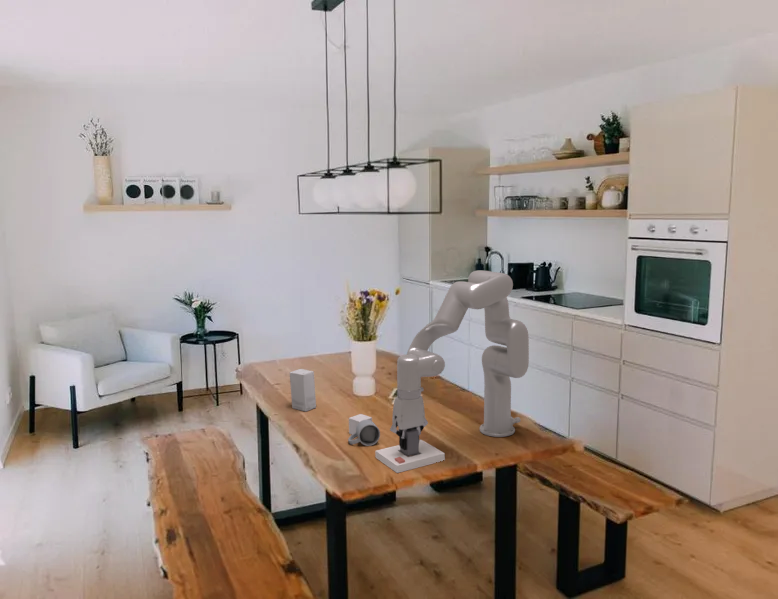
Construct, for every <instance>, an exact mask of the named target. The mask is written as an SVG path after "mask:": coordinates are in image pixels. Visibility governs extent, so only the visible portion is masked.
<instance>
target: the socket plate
mask: <svg viewBox="0 0 778 599" xmlns="http://www.w3.org/2000/svg"><path fill="white" fill-rule="evenodd" d="M374 454H375V459H377V461H379V462H381V463H382V464H384V465H385V466H386V467H388V468H389V469H391V470H392V471H393V472H395V473H396V474H400V473H402V472H406V471H411V470H414V469H417V468H421V467H426V466H429V465H432V464H436V462H437V463H439V462H440V461H441V462H444V461H445V460H446V458H445V455H446V454H445V452H443V451H441V450H440V449H438V448H436V447H435V446H434V445H431V444H430V443H428V442H426V441H425V440H423V439H419V454H416V455H412V456H407V455H405V454H404V453H402V452H401V451H400V445H399V444H397V445H394V446H388V447H386V448H381V449H376V450H375V451H374ZM443 460H444V461H443Z"/></svg>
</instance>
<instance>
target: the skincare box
mask: <svg viewBox="0 0 778 599" xmlns="http://www.w3.org/2000/svg"><path fill="white" fill-rule="evenodd" d="M289 382H290V396H291V407H292V409H294V410H297V411H298V410H299V411H302V412H308V411H311V410H314V409H316V408H317V399H316V385H315V371H313V370H308V369H304V368H299V369H296V370H293V371H290V372H289Z"/></svg>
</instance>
